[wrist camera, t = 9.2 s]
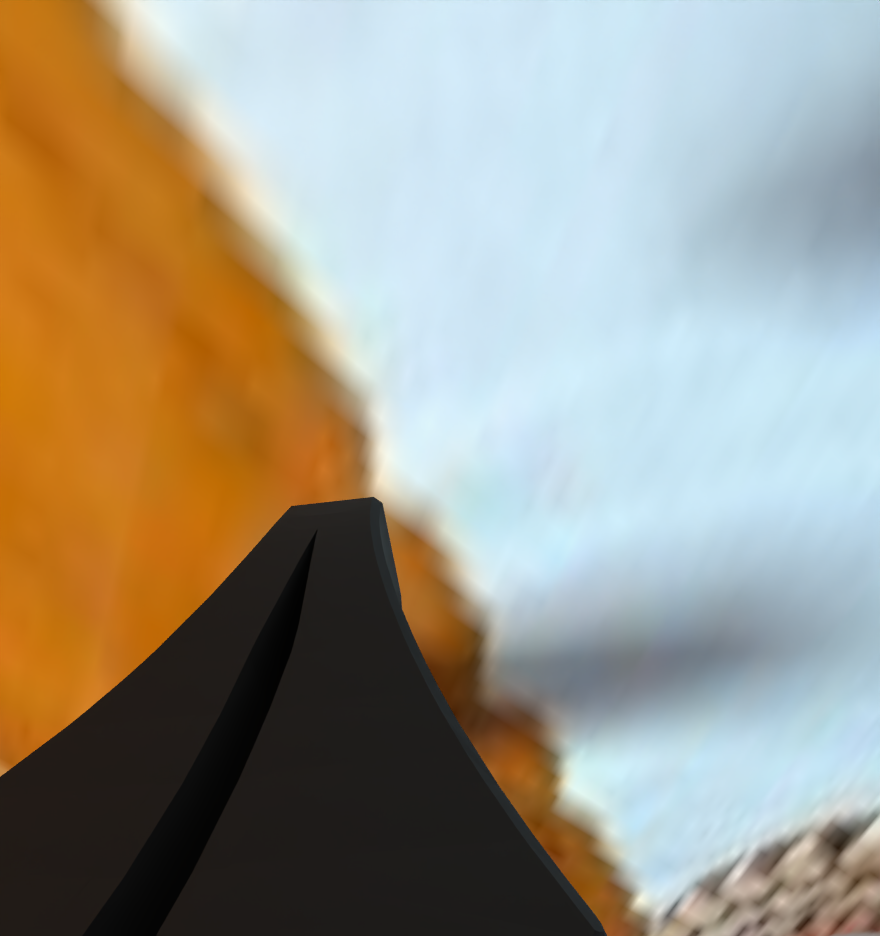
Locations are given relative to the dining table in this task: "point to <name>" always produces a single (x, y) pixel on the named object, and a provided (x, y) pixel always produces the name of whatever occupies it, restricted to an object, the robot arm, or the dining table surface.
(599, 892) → the dining table surface
